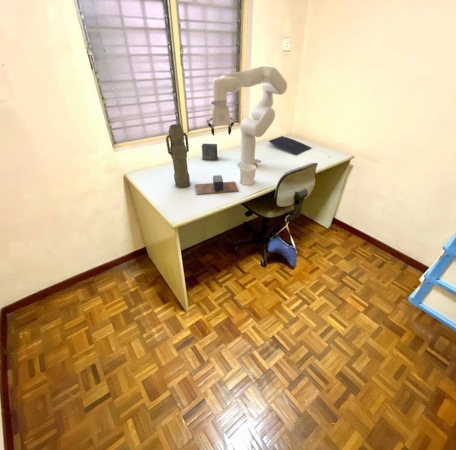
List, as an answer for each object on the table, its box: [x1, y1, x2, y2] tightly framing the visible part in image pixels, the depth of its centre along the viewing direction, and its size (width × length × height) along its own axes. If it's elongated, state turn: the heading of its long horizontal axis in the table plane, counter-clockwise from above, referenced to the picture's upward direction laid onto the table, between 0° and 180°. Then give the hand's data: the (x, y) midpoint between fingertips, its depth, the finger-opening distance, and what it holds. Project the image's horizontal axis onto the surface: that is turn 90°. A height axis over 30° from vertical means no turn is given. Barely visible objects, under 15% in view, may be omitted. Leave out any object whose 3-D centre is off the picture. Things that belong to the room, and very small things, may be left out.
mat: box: [195, 181, 239, 196], centre depth 150 cm, size 24×12×1 cm, turn 101°
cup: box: [239, 164, 257, 186], centre depth 154 cm, size 10×10×10 cm
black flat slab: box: [268, 135, 312, 156], centre depth 210 cm, size 24×30×4 cm
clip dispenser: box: [212, 174, 224, 191], centre depth 148 cm, size 5×8×6 cm, turn 11°
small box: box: [201, 143, 218, 161], centre depth 185 cm, size 11×6×10 cm, turn 84°
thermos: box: [165, 123, 191, 189], centre depth 143 cm, size 9×12×35 cm
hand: (221, 134), depth 151 cm, fingers open, 9 cm apart
